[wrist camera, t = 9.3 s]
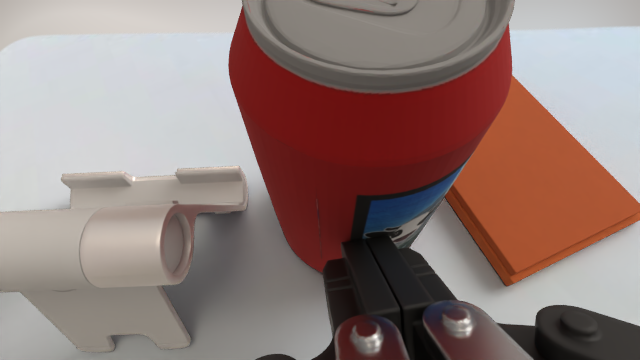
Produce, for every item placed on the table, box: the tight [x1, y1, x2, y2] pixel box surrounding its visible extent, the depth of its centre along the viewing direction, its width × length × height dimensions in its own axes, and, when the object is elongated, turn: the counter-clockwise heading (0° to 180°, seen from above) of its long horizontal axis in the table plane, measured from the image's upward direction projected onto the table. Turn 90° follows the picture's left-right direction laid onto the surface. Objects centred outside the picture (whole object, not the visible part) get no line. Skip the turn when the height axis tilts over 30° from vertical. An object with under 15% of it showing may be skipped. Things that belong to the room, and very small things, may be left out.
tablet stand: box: [0, 166, 248, 352], centre depth 13 cm, size 9×8×8 cm
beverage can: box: [229, 0, 515, 273], centre depth 12 cm, size 7×7×12 cm
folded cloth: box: [445, 76, 640, 286], centre depth 18 cm, size 8×11×1 cm
